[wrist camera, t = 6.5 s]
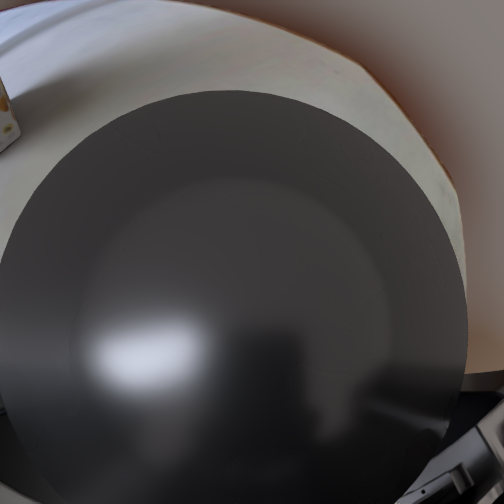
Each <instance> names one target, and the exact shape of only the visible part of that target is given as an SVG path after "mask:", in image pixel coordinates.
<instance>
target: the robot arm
mask: <svg viewBox="0 0 504 504" xmlns="http://www.w3.org/2000/svg"><path fill="white" fill-rule="evenodd" d="M399 503H400V504H504V370H499V371H492V372H483V373H472V374H464V378H463V383H462V387H461V391H460V395H459V398H458V402H457V405H456V408H455V411H454V414H453V416H452V419H451V421H450V424H449V426H448V429H447V431H446V433H445V435H444V437H443V439H442V441H441V443H440V445H439V447H438V448H437V450H436V452H435V454H434V455H433V457H432V458H431V460H430V462H429V463H428V465H427V466H426V467H425V469H424V470H423V472H422V473H421V475H420V476H419V477H418V478H417V480H416V481H415V482H414V483H413V484H412V486H411V487H410V488H409V489H408V490H407V491H406V492H405V494H404V495H403V496H402V497H401V498H400V499H399V500H398V501H397V504H399ZM0 504H68V503H67V502H66V501H65V500H64V499H63V498H62V497H61V496H60V495H59V494H58V493H57V492H56V491H55V490H54V489H53V488H52V487H51V485H50V484H49V483H48V482H47V480H46V479H45V478H44V477H43V475H42V474H41V473H40V471H39V470H38V469H37V467H36V466H35V465H34V463H33V462H32V460H31V459H30V458H29V456H28V454H27V453H26V451H25V449H24V447H23V445H22V444H21V442H20V440H19V438H18V436H17V434H16V432H15V430H14V428H13V426H12V424H11V422H10V420H9V417H8V414H7V411H6V408H5V405H4V402H3V399H2V396H1V393H0Z"/></svg>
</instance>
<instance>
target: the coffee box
mask: <svg viewBox="0 0 504 504" xmlns="http://www.w3.org/2000/svg"><path fill="white" fill-rule="evenodd" d="M20 135H21V131H20V128H19V126H18V123H17V120H16V117H15V114H14V111H13V108H12V104H11V101H10V99H9V96H8V94H7V92H6V89H5V87H4V85H3V82H2V80H1V77H0V152H2V151H3V150H4V149H5V148H6V147H7V146H9V145H10V144H11V143H12V142H13V141H15V140H16V139H17V138H18V137H20Z"/></svg>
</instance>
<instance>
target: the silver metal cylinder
mask: <svg viewBox="0 0 504 504" xmlns="http://www.w3.org/2000/svg"><path fill="white" fill-rule="evenodd" d="M467 345H468V319H467V305H466V298H465V292H464V286H463V281H462V277H461V273H460V269H459V265H458V262H457V258H456V255H455V253H454V250H453V247H452V245H451V242H450V240H449V237H448V235H447V232H446V230H445V228H444V226H443V224H442V222H441V220H440V218H439V216H438V215H437V213H436V211H435V209H434V208H433V206H432V205H431V203H430V201H429V200H428V198H427V197H426V195H425V194H424V192H423V191H422V189H421V188H420V187H419V186H418V184H417V183H416V182H415V180H414V179H413V178H412V177H411V175H410V174H409V173H408V172H407V171H406V170H405V169H404V168H403V167H402V166H401V164H400V163H399V162H398V161H397V160H396V159H395V158H394V157H393V156H392V155H391V154H390V153H388V152H387V151H386V150H385V149H384V148H383V147H381V146H380V145H379V144H378V143H376V142H375V141H374V140H373V139H371V138H370V137H369V136H367V135H366V134H364V133H363V132H361V131H360V130H358V129H357V128H355V127H354V126H352V125H351V124H349V123H348V122H346V121H344V120H342V119H340V118H338V117H336V116H334V115H332V114H330V113H328V112H326V111H324V110H322V109H319V108H316V107H314V106H311V105H308V104H306V103H303V102H300V101H297V100H293V99H289V98H285V97H281V96H277V95H273V94H267V93H259V92H250V91H240V90H228V91H205V92H198V93H191V94H184V95H179V96H175V97H171V98H168V99H164V100H161V101H157V102H154V103H151V104H147V105H145V106H143V107H140V108H138V109H136V110H133V111H131V112H129V113H127V114H125V115H122V116H120V117H118V118H116V119H115V120H113V121H111V122H110V123H108V124H106V125H105V126H103V127H102V128H100V129H99V130H97V131H95V132H94V133H92V134H91V135H89V136H88V137H87V138H85V139H84V140H83V141H82V142H81V143H79V144H78V145H77V146H76V147H75V148H74V149H72V150H71V151H70V152H69V153H68V154H67V155H66V156H65V157H63V158H62V159H61V160H60V161H59V162H58V163H57V165H56V166H55V167H54V168H53V169H52V170H51V171H50V173H49V174H48V175H47V176H46V177H45V179H44V180H43V181H42V182H41V184H40V185H39V186H38V187H37V189H36V190H35V191H34V193H33V195H32V196H31V198H30V199H29V201H28V203H27V204H26V206H25V208H24V209H23V211H22V213H21V214H20V216H19V218H18V220H17V222H16V223H15V226H14V228H13V230H12V233H11V235H10V238H9V240H8V243H7V245H6V248H5V251H4V254H3V256H2V259H1V263H0V393H1V396H2V399H3V402H4V405H5V408H6V411H7V414H8V417H9V420H10V422H11V424H12V426H13V428H14V430H15V432H16V434H17V436H18V438H19V440H20V442H21V444H22V445H23V447H24V449H25V451H26V453H27V454H28V456H29V458H30V459H31V460H32V462H33V463H34V465H35V466H36V467H37V469H38V470H39V471H40V473H41V474H42V475H43V477H44V478H45V479H46V480H47V482H48V483H49V484H50V485H51V487H52V488H53V489H54V490H55V491H56V492H57V493H58V494H59V495H60V496H61V497H62V498H63V499H64V500H65V501H66V502H67V503H68V504H394V503H395V502H397V501H398V500H399V499H400V498H401V497H402V496H403V495H404V494H405V492H406V491H407V490H408V489H409V488H410V487H411V486H412V484H413V483H414V482H415V481H416V480H417V478H418V477H419V476H420V475H421V473H422V472H423V470H424V469H425V467H426V466H427V465H428V463H429V462H430V460H431V458H432V457H433V455H434V454H435V452H436V450H437V448H438V447H439V445H440V443H441V441H442V439H443V437H444V435H445V433H446V431H447V429H448V426H449V424H450V421H451V419H452V416H453V414H454V411H455V408H456V405H457V402H458V398H459V395H460V391H461V387H462V383H463V378H464V372H465V365H466V359H467Z"/></svg>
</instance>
